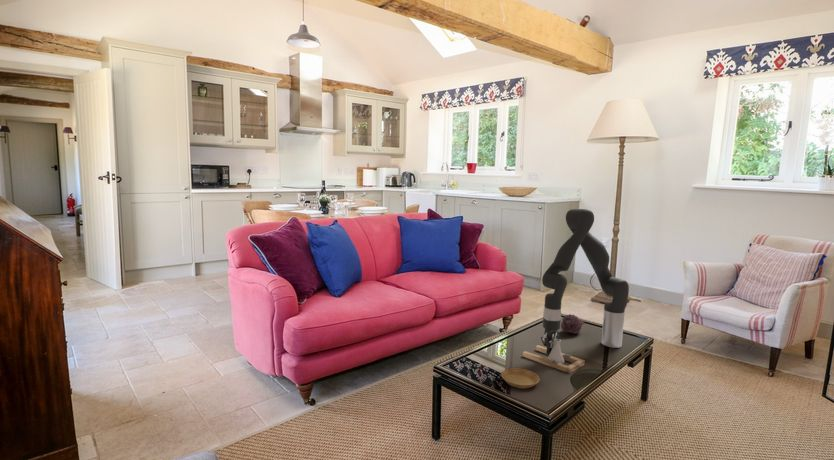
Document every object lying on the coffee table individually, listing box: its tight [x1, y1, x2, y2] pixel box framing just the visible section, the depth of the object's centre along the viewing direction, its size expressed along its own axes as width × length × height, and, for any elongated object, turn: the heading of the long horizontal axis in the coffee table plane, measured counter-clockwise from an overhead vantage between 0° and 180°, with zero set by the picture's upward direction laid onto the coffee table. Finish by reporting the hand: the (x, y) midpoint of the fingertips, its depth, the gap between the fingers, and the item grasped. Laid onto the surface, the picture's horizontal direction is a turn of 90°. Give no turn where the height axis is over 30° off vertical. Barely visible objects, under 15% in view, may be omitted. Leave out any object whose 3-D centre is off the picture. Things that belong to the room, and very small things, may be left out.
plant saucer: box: [501, 367, 540, 389], centre depth 177 cm, size 15×15×3 cm
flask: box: [546, 338, 566, 364], centre depth 196 cm, size 7×7×10 cm
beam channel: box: [522, 344, 586, 374], centre depth 198 cm, size 13×23×2 cm, turn 44°
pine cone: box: [560, 314, 586, 335], centre depth 233 cm, size 18×10×10 cm, turn 128°
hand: (549, 354), depth 199 cm, fingers closed
